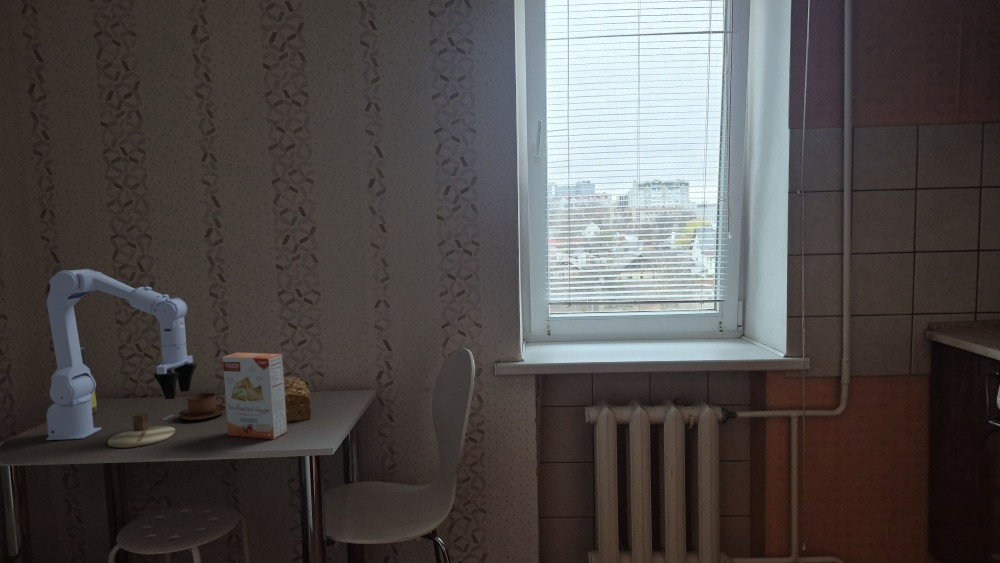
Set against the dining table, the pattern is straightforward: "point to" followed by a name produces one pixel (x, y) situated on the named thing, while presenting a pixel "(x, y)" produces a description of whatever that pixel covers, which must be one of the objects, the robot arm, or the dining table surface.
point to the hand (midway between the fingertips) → (177, 395)
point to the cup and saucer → (202, 407)
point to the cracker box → (255, 395)
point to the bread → (296, 399)
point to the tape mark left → (167, 417)
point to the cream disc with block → (141, 433)
